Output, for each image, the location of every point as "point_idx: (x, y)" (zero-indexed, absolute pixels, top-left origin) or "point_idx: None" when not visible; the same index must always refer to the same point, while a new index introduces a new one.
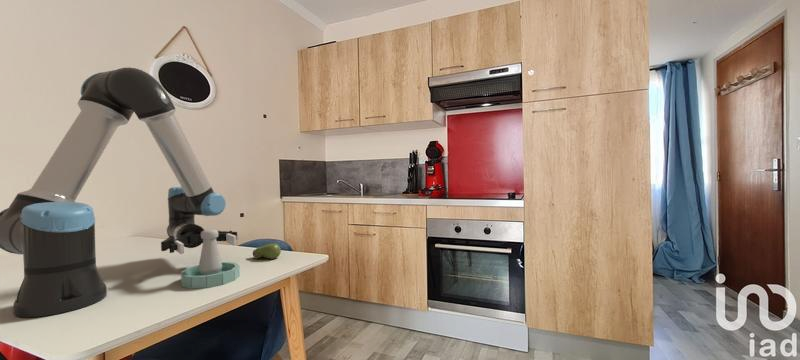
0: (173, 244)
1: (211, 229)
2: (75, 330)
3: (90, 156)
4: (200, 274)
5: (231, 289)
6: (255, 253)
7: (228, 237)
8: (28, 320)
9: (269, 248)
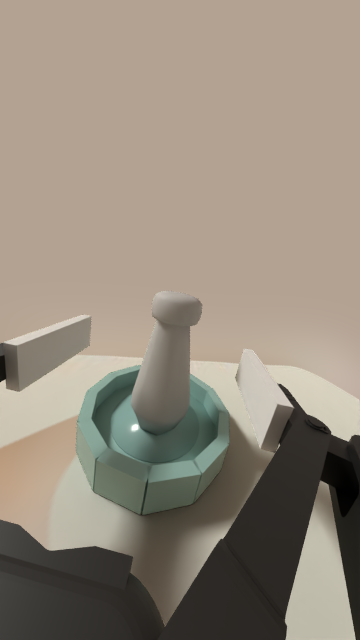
0: (285, 395)
1: (173, 292)
2: (332, 399)
3: None
4: (167, 452)
5: None
6: None
7: (47, 347)
8: None
9: None
